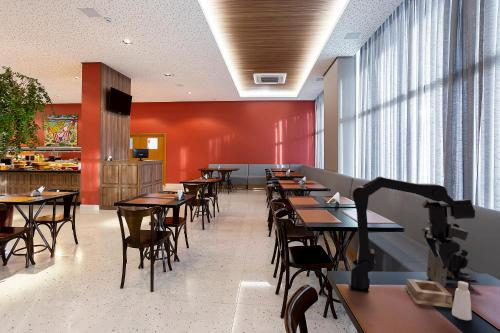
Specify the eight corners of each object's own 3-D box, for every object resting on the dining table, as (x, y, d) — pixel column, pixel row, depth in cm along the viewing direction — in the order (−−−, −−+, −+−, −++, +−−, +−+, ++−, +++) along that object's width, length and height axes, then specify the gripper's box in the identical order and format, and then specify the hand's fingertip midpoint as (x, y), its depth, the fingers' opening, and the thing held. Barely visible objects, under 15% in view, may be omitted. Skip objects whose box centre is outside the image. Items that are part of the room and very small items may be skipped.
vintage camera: (479, 293, 110) (484, 242, 110) (435, 287, 113) (439, 237, 113) (466, 283, 120) (470, 236, 119) (425, 277, 123) (429, 232, 122)
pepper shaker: (448, 314, 93) (450, 281, 93) (454, 309, 97) (456, 277, 96) (468, 322, 89) (470, 288, 89) (474, 317, 92) (476, 283, 92)
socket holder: (415, 303, 100) (416, 292, 100) (404, 288, 112) (405, 278, 112) (454, 307, 98) (454, 296, 98) (438, 291, 110) (439, 281, 109)
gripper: (477, 226, 91) (480, 273, 92) (452, 212, 109) (455, 252, 110) (438, 227, 94) (441, 273, 95) (420, 213, 112) (422, 252, 113)
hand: (440, 261), depth 103 cm, fingers open, 9 cm apart
